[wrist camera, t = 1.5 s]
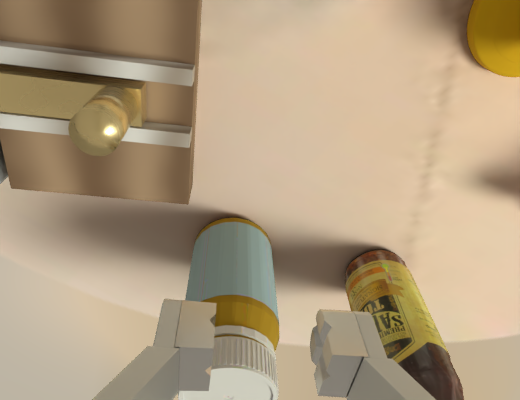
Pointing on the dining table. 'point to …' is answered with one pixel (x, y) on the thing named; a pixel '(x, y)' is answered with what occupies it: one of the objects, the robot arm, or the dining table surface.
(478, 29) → the doorknob
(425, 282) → the dining table surface
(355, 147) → the dining table surface
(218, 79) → the dining table surface
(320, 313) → the robot arm
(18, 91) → the bolt
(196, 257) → the bottle
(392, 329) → the sauce bottle
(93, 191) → the door latch block
